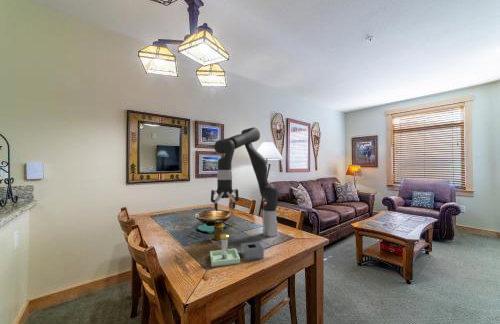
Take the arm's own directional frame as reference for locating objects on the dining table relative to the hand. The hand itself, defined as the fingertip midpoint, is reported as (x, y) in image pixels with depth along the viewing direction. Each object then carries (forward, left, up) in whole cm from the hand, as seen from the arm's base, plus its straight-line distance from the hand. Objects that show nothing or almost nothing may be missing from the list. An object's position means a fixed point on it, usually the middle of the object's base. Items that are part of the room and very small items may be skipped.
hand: (224, 209), depth 107 cm
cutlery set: (+7, -47, -27) cm, 54 cm away
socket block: (-15, -1, -26) cm, 30 cm away
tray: (0, 0, -26) cm, 26 cm away
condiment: (+1, -28, -26) cm, 38 cm away
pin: (0, 0, -25) cm, 25 cm away
